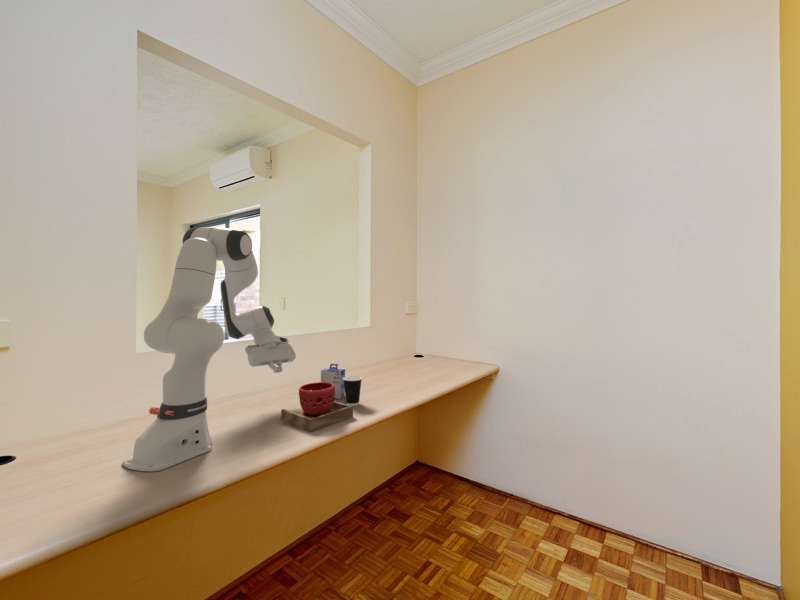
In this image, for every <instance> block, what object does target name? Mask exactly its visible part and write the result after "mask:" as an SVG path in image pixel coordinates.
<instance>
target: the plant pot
mask: <svg viewBox="0 0 800 600" xmlns="http://www.w3.org/2000/svg"><path fill="white" fill-rule="evenodd" d="M322 389H323V390H322ZM324 397H325V398H324ZM298 398H299V403H300V407H301V409H302V411H303V412H302V413H301V415H303V416H306V417H309V418H315V417H318V416H321V415H324V414H327V413H330V412H333V411H334V410H333V409H332V407H333V404H334V401H335V400H336V398H335V386H334V384H332V383H328V382H321V381H317V382H310V383H306V384H303V385H300V386H299V388H298Z"/></svg>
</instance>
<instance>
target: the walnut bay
mask: <svg viewBox="0 0 800 600" xmlns="http://www.w3.org/2000/svg"><path fill="white" fill-rule="evenodd" d="M332 409H333V410H334V411H333V412H330V413H327V414H324V415H321V416H318V417H315V418H309V417H306V416H303V415H302V414H300V413H297V412H294V411H291V410H290V409H289V410H288V409H285V408H282V409H281V410H280V413H281V414H280V416H281V417H280V421H281V422H284V423H286V424H289V425H291V426H295V427H297V428H300V429H303V430H305V431H307V432H310V433H313V432H315V431H317V430H321V429H324V428H326V427H329V426H332V425H334V424H337V423H340V422H342V421H345V420H348V419H351V418H353V417H354V406H350V405H347V403H343V402H339V401H336V400H334V404H333V407H332Z"/></svg>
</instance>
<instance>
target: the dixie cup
mask: <svg viewBox="0 0 800 600" xmlns="http://www.w3.org/2000/svg"><path fill="white" fill-rule="evenodd" d="M343 380H344V387H345V396H344V397H345V402H346V403H345V404H347V405H350V406H353V407H356V406H358V405H359V402H360V398H361V389H362V388H361V387H362V380H363V377H362V376H358V375H348V376H345V377H344V378H343Z"/></svg>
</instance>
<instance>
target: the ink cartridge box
mask: <svg viewBox="0 0 800 600" xmlns="http://www.w3.org/2000/svg"><path fill="white" fill-rule="evenodd" d="M338 365H339V364H338V363H330V365H329V368H324V369H321V370H320V382H328V383H332V384H334V386H335V399H338V400H339V399H342V398H344V397H345V387H344V380H343V378H344V377H346V369H345V368H338ZM322 390H323V389H322ZM324 398H325V397H324Z"/></svg>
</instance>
